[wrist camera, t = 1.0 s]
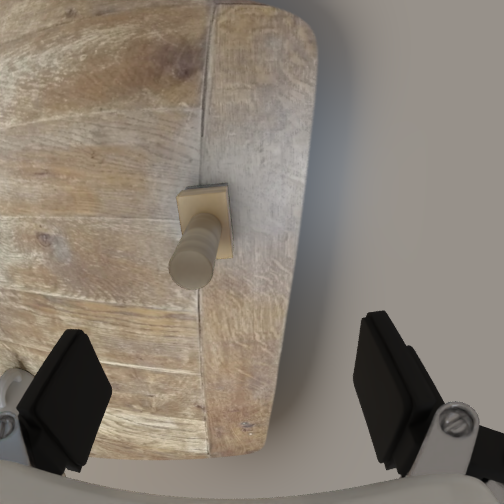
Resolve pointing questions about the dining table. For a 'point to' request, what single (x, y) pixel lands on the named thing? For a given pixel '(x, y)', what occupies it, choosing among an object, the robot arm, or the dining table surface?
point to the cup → (13, 388)
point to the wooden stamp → (201, 234)
